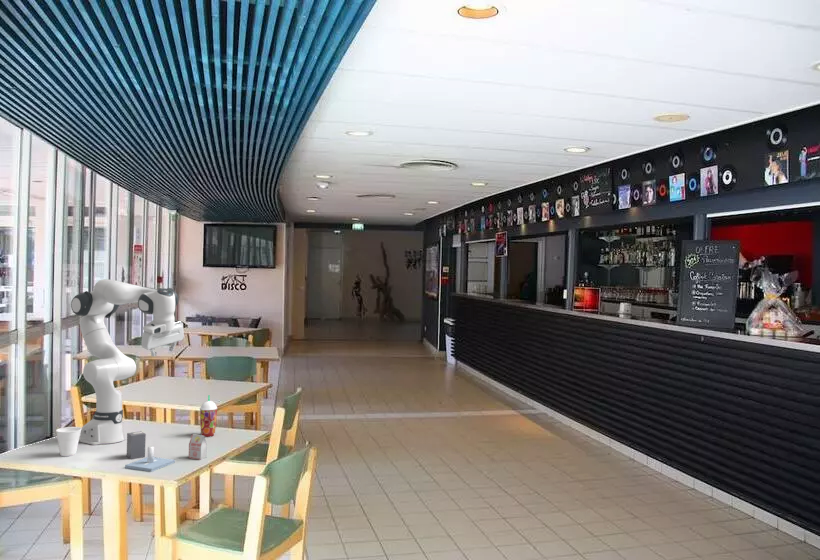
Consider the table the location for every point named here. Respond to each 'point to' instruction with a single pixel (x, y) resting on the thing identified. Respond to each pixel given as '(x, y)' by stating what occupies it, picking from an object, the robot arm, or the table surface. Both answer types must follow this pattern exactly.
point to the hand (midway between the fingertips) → (162, 353)
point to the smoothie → (208, 418)
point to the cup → (68, 440)
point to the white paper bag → (197, 447)
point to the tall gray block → (136, 445)
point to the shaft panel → (149, 466)
